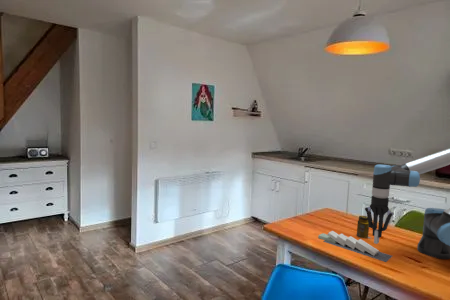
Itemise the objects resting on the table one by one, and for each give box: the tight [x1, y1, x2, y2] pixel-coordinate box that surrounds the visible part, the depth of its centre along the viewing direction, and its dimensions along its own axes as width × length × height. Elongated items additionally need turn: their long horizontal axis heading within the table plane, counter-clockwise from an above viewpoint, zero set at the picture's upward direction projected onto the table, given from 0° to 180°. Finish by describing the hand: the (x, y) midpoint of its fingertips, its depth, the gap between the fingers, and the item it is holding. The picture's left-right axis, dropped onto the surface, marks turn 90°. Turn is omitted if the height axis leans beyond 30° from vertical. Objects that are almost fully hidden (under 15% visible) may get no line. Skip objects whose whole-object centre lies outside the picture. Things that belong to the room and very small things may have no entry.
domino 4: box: [346, 235, 365, 253], centre depth 159 cm, size 2×5×10 cm
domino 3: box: [337, 233, 356, 249], centre depth 162 cm, size 2×5×10 cm
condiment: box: [356, 215, 372, 239], centre depth 176 cm, size 7×8×12 cm
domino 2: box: [327, 230, 346, 246], centre depth 166 cm, size 2×5×10 cm
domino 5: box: [355, 238, 380, 256], centre depth 155 cm, size 2×5×10 cm
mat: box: [322, 240, 393, 263], centre depth 159 cm, size 32×10×1 cm, turn 45°
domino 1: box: [317, 233, 337, 243], centre depth 170 cm, size 2×5×10 cm
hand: (376, 242), depth 152 cm, fingers closed
